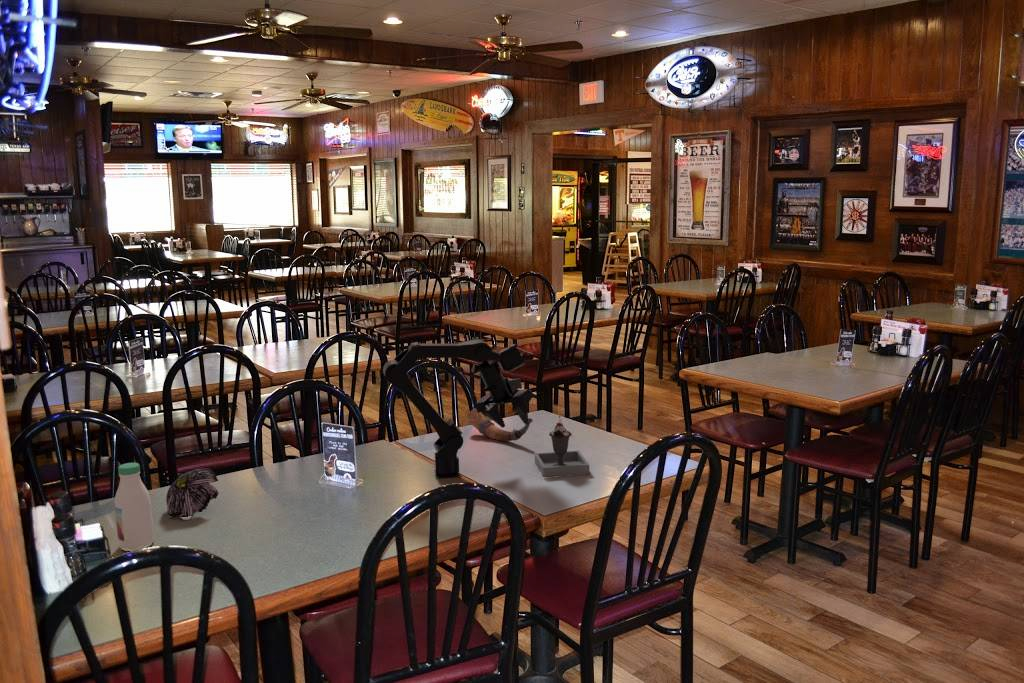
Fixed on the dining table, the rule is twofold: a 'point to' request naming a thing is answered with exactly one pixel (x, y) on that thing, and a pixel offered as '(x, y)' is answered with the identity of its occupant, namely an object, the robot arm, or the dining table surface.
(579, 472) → the tray
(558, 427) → the sundae
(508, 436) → the drinking horn
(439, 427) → the robot arm
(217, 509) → the dining table surface
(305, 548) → the dining table surface
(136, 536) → the milk bottle
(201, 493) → the decorative flower
